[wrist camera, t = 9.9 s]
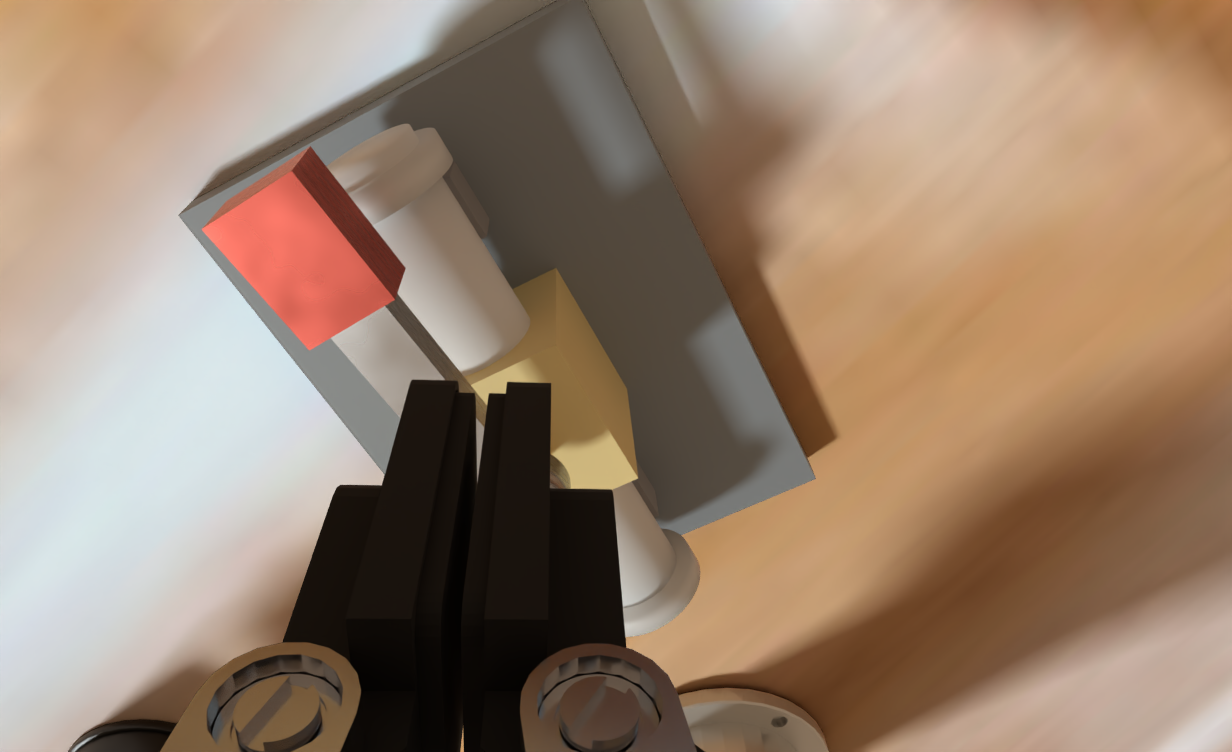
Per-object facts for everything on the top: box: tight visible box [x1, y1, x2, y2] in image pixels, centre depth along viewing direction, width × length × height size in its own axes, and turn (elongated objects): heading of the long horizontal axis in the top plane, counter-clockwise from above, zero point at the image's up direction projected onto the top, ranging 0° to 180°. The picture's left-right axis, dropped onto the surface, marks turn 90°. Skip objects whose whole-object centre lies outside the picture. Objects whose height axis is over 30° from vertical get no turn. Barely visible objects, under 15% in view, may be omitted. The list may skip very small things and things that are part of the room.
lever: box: [202, 146, 571, 489], centre depth 27 cm, size 14×3×2 cm, turn 31°
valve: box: [178, 0, 816, 637], centre depth 34 cm, size 22×16×9 cm
